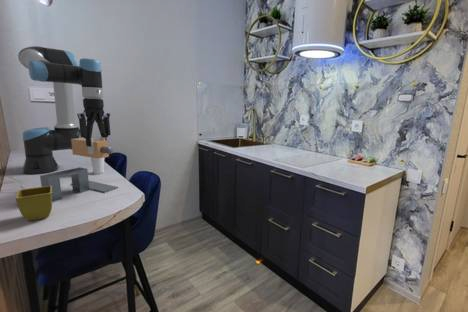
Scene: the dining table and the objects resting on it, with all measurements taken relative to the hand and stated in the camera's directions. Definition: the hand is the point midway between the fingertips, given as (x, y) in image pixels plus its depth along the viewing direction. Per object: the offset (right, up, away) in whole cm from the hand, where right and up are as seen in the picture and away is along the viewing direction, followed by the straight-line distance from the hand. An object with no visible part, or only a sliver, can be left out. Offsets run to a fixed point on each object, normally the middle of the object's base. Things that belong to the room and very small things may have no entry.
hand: (97, 152), depth 106 cm
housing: (-9, -18, -6) cm, 21 cm away
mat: (-4, -15, +5) cm, 17 cm away
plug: (-3, -1, +1) cm, 3 cm away
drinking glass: (-14, -11, +26) cm, 32 cm away
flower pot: (-5, -22, -26) cm, 34 cm away
